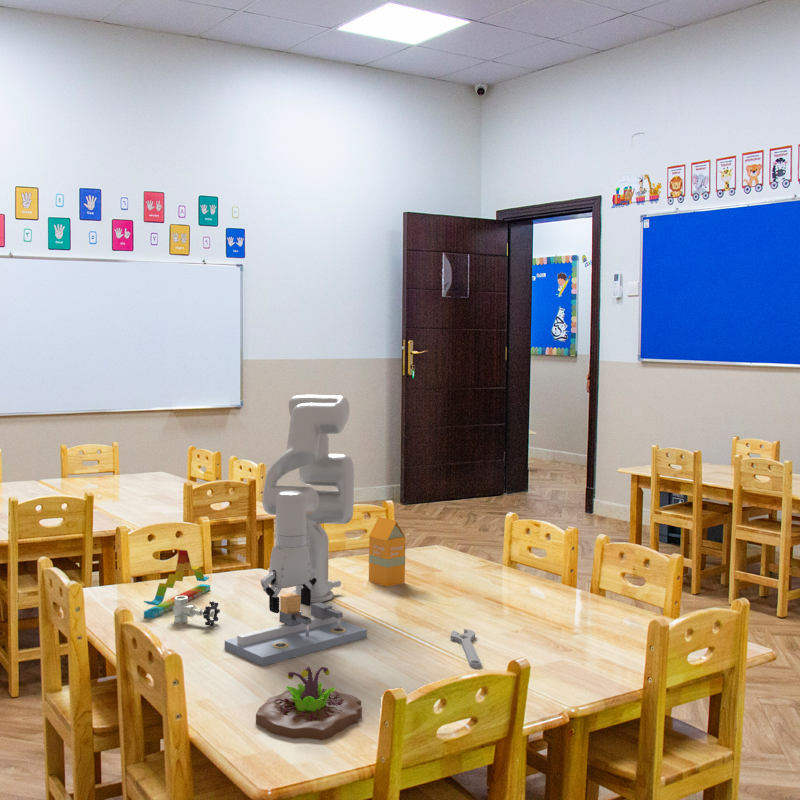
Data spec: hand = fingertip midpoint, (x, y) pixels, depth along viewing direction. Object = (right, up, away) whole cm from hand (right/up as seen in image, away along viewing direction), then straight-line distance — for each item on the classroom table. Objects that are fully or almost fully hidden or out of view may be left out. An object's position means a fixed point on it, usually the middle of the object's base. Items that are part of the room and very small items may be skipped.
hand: (290, 608), depth 227 cm
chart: (-36, -6, +32) cm, 48 cm away
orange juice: (+23, -5, +59) cm, 63 cm away
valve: (-27, -7, +13) cm, 31 cm away
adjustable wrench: (+44, -10, -5) cm, 45 cm away
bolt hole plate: (+2, -8, -1) cm, 9 cm away
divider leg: (+2, -5, -1) cm, 6 cm away
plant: (+9, -12, -47) cm, 49 cm away
